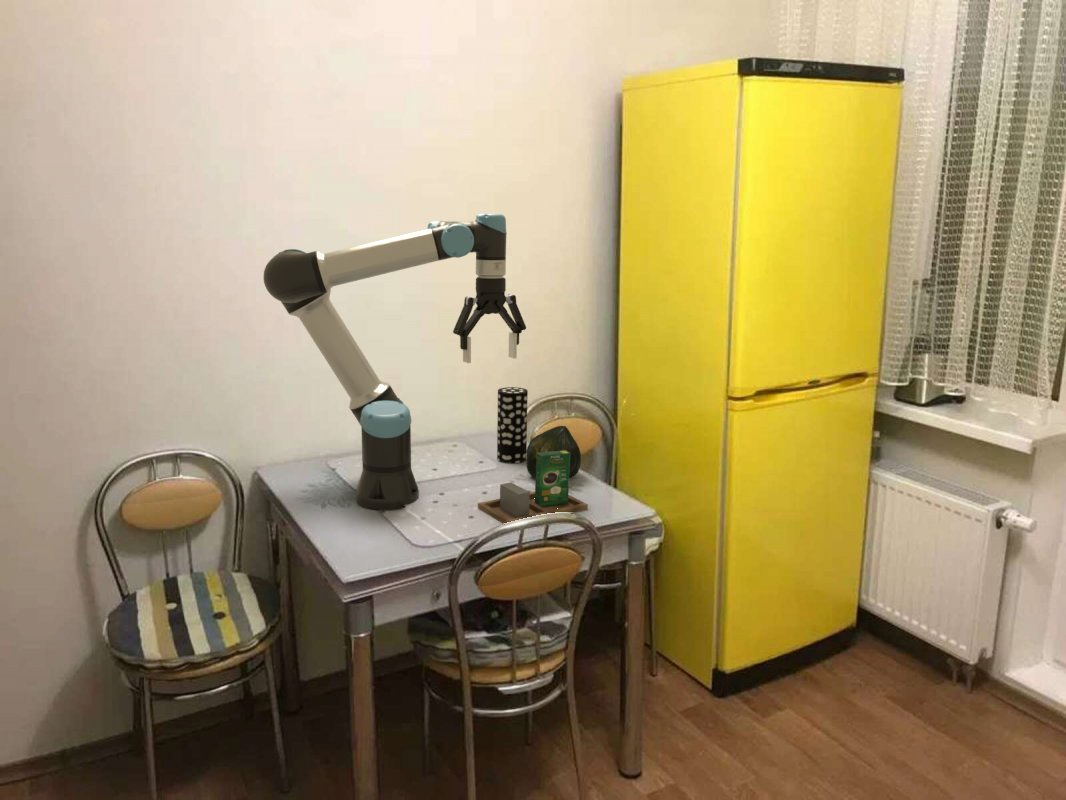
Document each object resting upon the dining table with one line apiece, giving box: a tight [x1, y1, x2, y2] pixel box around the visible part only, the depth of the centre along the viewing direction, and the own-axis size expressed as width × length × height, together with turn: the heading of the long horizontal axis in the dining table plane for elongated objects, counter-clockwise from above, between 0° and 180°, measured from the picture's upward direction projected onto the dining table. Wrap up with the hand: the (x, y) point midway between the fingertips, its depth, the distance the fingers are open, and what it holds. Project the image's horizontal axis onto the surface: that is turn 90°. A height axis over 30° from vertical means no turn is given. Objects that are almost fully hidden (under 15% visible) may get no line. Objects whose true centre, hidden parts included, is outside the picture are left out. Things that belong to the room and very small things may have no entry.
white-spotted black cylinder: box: [496, 386, 529, 464], centre depth 242 cm, size 8×8×20 cm
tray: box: [477, 491, 589, 524], centre depth 203 cm, size 22×14×2 cm, turn 124°
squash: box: [526, 425, 582, 479], centre depth 228 cm, size 14×15×15 cm
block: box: [499, 482, 530, 518], centre depth 200 cm, size 3×8×6 cm, turn 34°
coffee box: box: [534, 450, 570, 507], centre depth 205 cm, size 8×3×13 cm, turn 115°
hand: (490, 360), depth 220 cm, fingers open, 13 cm apart
